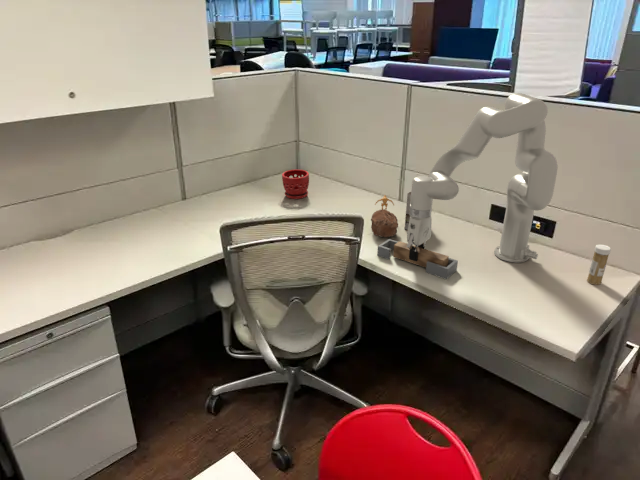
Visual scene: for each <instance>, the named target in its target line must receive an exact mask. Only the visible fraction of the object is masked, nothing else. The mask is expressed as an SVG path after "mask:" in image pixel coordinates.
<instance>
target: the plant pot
mask: <svg viewBox="0 0 640 480" xmlns="http://www.w3.org/2000/svg"><path fill="white" fill-rule="evenodd" d="M309 174H310V173H309V172H308V171H307V170H304V169H290V170H289V169H288V170H286V171H283V172H282V174H281V178H282V179H281V180H282V186H283V189H284V191H285V192H284V196H285V197H286V198H288V199H292V200H300V199H304V198H306V197H307V196H308V194H309V191H308V189H309V185H310V175H309Z"/></svg>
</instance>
